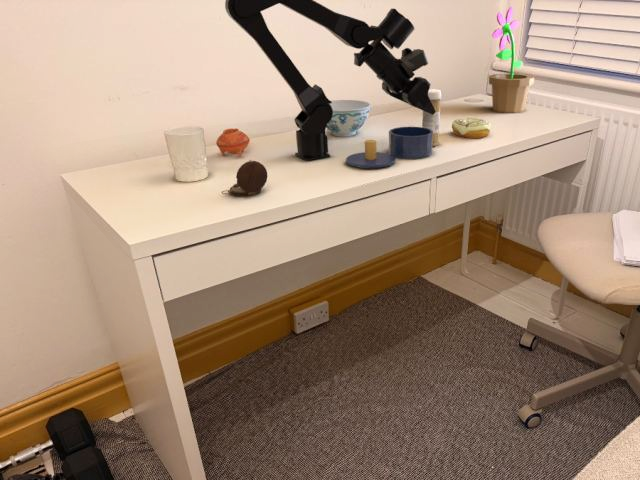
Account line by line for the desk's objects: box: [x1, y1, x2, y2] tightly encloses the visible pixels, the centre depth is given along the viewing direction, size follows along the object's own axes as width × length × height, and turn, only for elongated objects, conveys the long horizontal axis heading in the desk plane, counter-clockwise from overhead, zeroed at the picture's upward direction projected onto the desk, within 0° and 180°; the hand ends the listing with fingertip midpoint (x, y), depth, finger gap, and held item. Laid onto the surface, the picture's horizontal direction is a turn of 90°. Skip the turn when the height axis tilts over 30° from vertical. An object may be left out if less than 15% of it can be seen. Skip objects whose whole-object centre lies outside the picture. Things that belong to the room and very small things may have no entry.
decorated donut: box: [451, 117, 492, 139], centre depth 151 cm, size 10×11×4 cm
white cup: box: [163, 125, 209, 183], centre depth 117 cm, size 8×8×10 cm
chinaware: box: [326, 99, 371, 137], centre depth 152 cm, size 15×15×8 cm
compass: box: [221, 159, 268, 197], centre depth 108 cm, size 8×8×7 cm
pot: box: [215, 127, 251, 158], centre depth 134 cm, size 8×8×7 cm
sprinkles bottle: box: [421, 88, 442, 147], centre depth 139 cm, size 5×5×13 cm
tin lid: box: [345, 139, 396, 169], centre depth 127 cm, size 11×11×5 cm
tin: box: [388, 126, 434, 160], centre depth 134 cm, size 10×10×5 cm
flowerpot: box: [488, 6, 535, 114], centre depth 175 cm, size 14×14×30 cm
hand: (426, 109), depth 138 cm, fingers open, 9 cm apart
